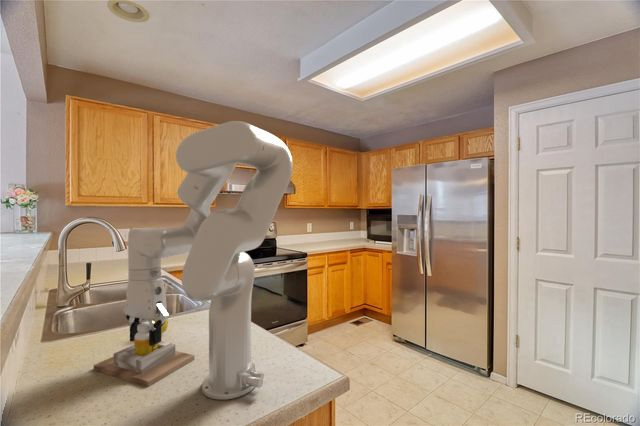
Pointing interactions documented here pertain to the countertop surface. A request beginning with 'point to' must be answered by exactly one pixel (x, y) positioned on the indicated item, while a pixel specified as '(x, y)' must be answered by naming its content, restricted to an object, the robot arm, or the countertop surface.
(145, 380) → the dock board
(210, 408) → the countertop surface
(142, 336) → the supplement bottle
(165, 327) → the lemon
